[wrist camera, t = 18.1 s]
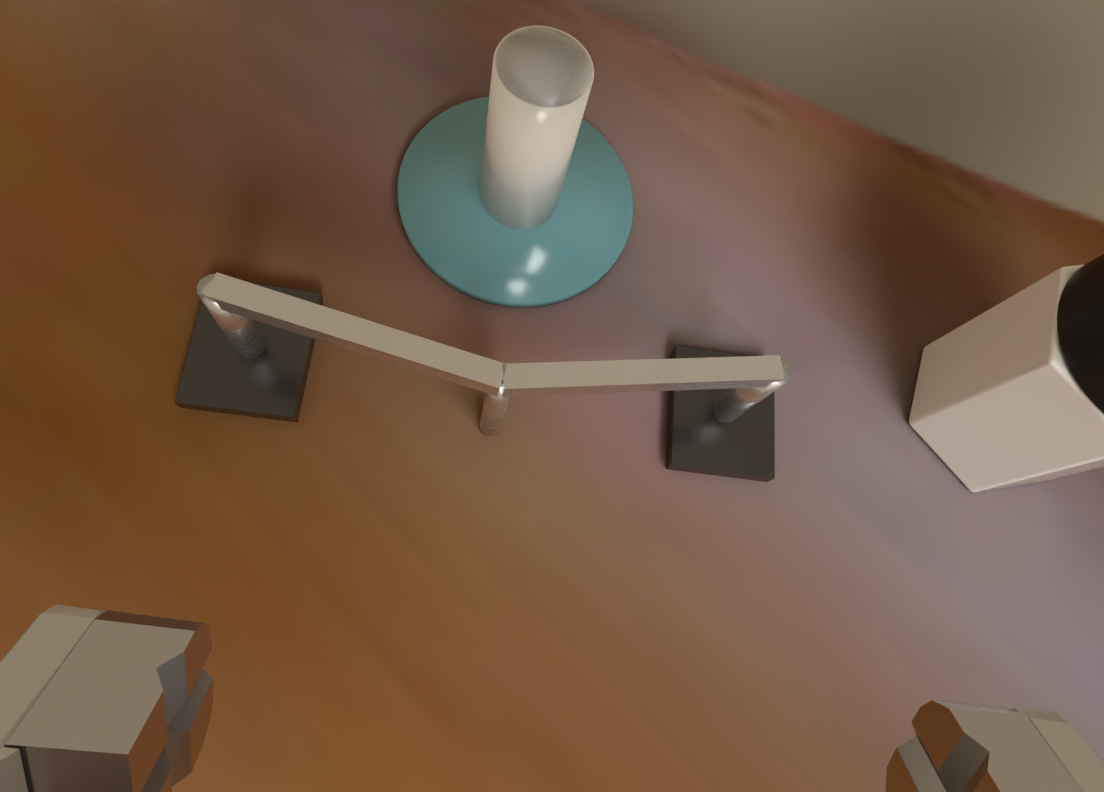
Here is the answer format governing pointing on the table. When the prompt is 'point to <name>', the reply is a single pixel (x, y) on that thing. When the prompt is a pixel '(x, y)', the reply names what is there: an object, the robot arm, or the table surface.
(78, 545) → the table surface
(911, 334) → the table surface
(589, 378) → the bent bar stand
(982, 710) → the robot arm
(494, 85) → the salt shaker
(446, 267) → the saucer
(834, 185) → the table surface
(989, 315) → the jar
